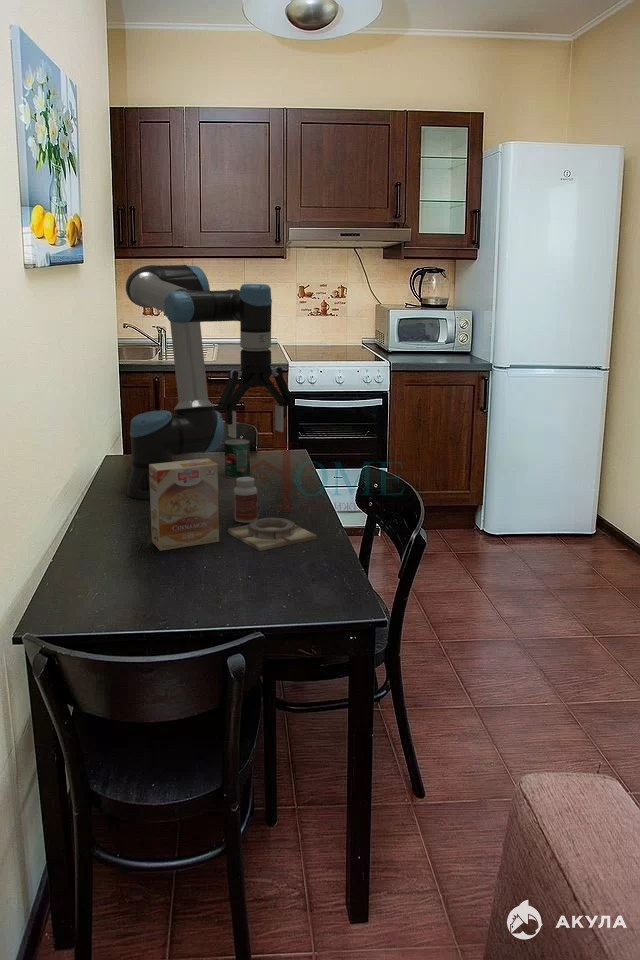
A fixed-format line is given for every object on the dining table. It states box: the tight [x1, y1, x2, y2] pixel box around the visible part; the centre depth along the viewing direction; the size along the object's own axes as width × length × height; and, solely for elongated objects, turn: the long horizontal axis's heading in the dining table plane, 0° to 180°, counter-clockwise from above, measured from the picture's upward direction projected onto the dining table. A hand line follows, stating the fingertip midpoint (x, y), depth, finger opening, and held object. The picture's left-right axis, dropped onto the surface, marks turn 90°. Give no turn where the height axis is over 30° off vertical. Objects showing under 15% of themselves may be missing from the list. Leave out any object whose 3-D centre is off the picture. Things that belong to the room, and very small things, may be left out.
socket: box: [227, 516, 318, 552], centre depth 208 cm, size 16×16×3 cm
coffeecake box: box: [149, 457, 220, 551], centre depth 201 cm, size 15×7×20 cm, turn 118°
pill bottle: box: [233, 476, 259, 524], centre depth 219 cm, size 6×6×11 cm
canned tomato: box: [223, 438, 251, 480], centre depth 264 cm, size 8×8×11 cm
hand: (256, 434), depth 212 cm, fingers open, 13 cm apart
